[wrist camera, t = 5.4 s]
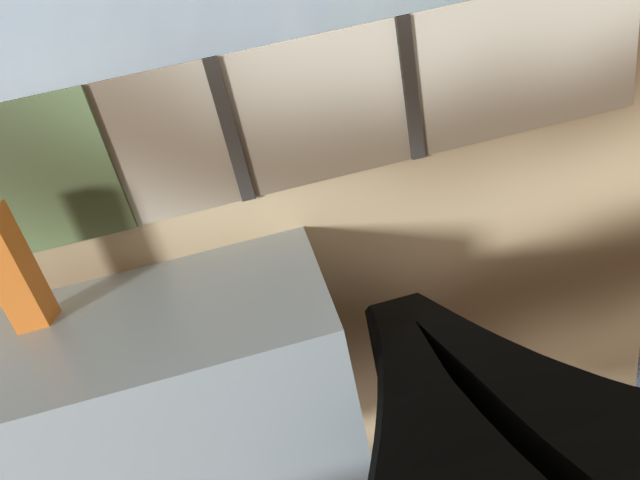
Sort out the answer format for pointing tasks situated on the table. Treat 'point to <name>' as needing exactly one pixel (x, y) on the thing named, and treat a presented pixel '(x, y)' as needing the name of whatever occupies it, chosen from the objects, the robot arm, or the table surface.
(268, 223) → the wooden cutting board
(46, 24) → the table surface
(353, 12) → the table surface
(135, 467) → the light grey block
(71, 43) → the table surface
